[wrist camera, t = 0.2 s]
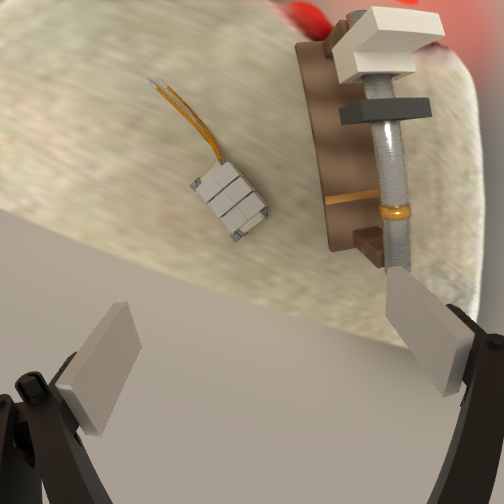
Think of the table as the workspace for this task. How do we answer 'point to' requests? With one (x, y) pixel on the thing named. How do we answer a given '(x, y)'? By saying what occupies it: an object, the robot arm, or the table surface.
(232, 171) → the electrical component
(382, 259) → the pipe stand
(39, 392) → the robot arm
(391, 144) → the steel pipe
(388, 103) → the dark gray nut plate
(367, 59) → the white u-shaped bracket
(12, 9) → the table surface
